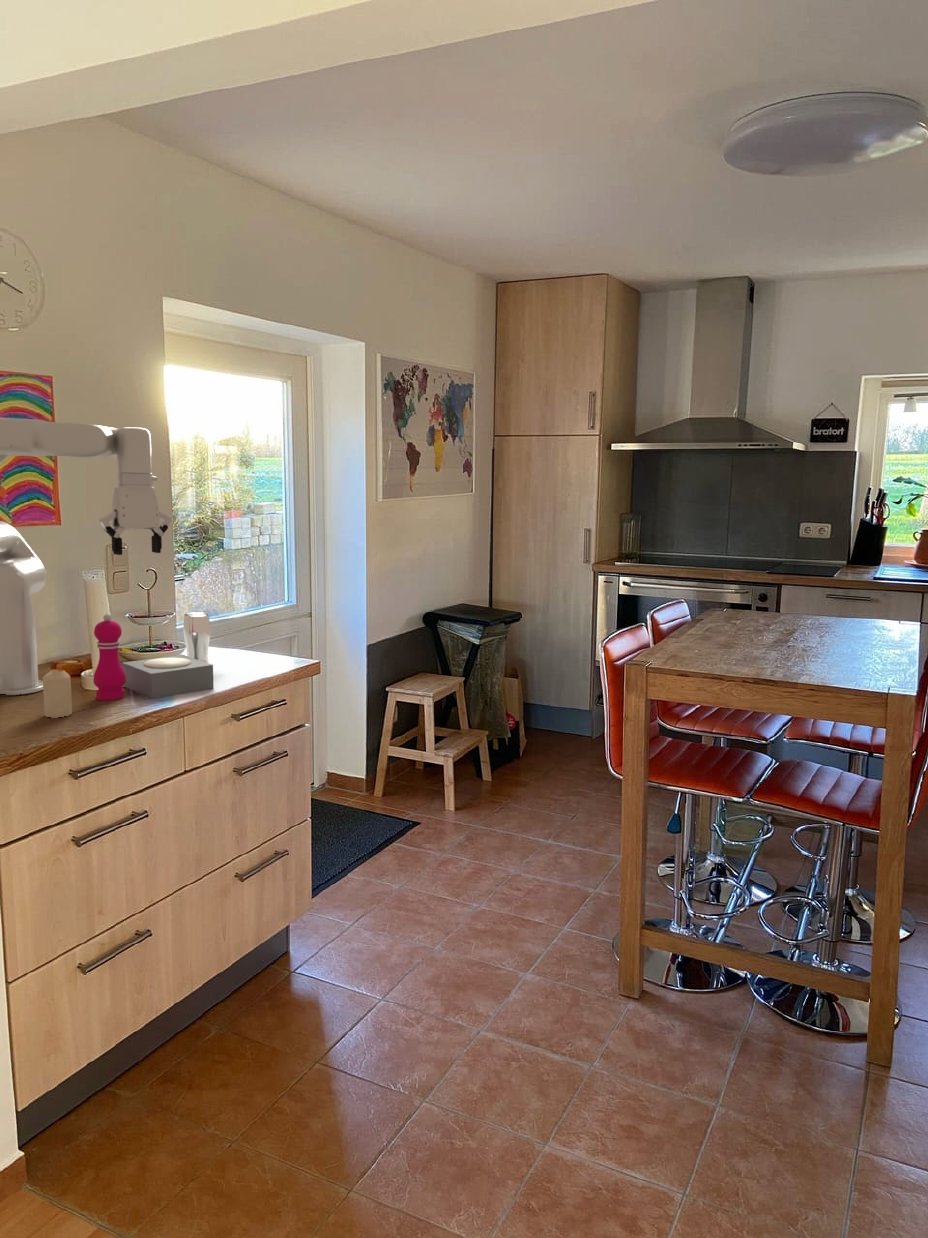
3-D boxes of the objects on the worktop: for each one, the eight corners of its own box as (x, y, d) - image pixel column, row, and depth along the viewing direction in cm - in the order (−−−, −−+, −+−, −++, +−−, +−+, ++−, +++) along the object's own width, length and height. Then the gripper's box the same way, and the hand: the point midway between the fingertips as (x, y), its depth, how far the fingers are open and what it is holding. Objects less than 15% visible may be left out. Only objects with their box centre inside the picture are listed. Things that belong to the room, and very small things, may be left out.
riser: (152, 698, 213) (151, 672, 212) (123, 686, 224) (122, 661, 223) (213, 688, 224) (213, 663, 223) (182, 677, 235) (182, 653, 234)
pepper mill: (115, 702, 209) (112, 617, 206) (87, 700, 210) (83, 615, 207) (132, 695, 216) (129, 612, 213) (105, 692, 217) (102, 611, 214)
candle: (40, 714, 197) (38, 670, 196) (66, 710, 201) (64, 666, 199) (50, 720, 193) (47, 674, 192) (76, 715, 197) (74, 671, 196)
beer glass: (184, 671, 242) (182, 616, 239) (184, 666, 248) (183, 612, 246) (211, 670, 243) (209, 616, 241) (211, 665, 250) (209, 612, 248)
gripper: (161, 481, 221) (163, 550, 223) (91, 480, 208) (94, 554, 211) (176, 481, 216) (178, 553, 218) (106, 480, 203) (109, 556, 206)
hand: (137, 553), depth 215 cm, fingers open, 9 cm apart
